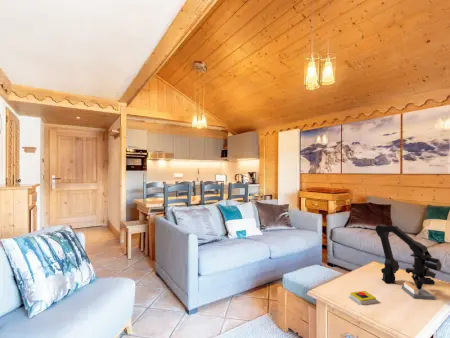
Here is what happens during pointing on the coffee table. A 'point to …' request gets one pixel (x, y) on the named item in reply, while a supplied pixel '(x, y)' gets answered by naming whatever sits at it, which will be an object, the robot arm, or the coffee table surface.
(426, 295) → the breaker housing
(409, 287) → the knob
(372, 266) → the coffee table surface
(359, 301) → the emergency button
